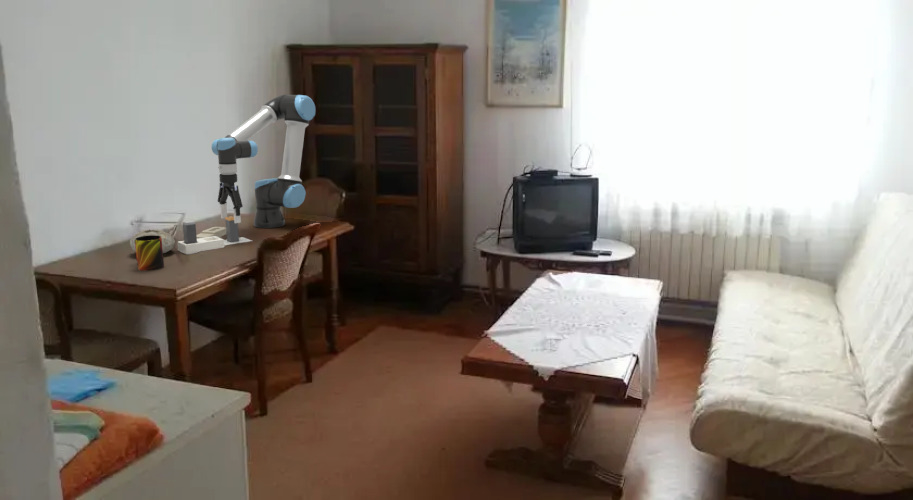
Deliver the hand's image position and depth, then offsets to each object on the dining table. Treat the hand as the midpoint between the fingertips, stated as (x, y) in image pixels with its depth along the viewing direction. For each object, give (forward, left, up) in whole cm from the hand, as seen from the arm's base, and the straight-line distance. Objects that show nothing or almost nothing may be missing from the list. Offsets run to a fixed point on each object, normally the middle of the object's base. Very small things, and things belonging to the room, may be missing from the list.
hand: (230, 220), depth 349 cm
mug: (+45, +18, -10) cm, 49 cm away
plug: (0, 0, -10) cm, 10 cm away
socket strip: (+16, +4, -10) cm, 19 cm away
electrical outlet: (+4, -14, -11) cm, 18 cm away
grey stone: (+35, -2, -10) cm, 36 cm away
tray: (0, 0, -10) cm, 10 cm away
